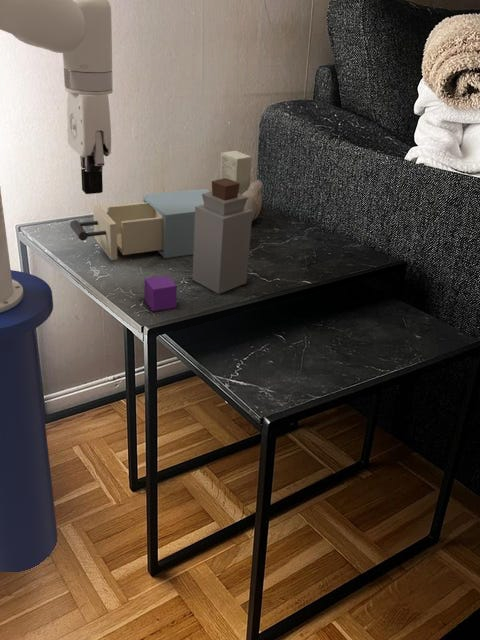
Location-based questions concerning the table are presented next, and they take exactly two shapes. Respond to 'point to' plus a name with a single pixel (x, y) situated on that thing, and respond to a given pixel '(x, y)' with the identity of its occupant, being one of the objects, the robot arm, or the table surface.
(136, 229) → the beige drawer
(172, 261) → the table surface
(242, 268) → the perfume bottle
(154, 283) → the purple rounded cube
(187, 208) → the drawer cabinet
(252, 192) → the decorative bird
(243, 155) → the cosmetic box
